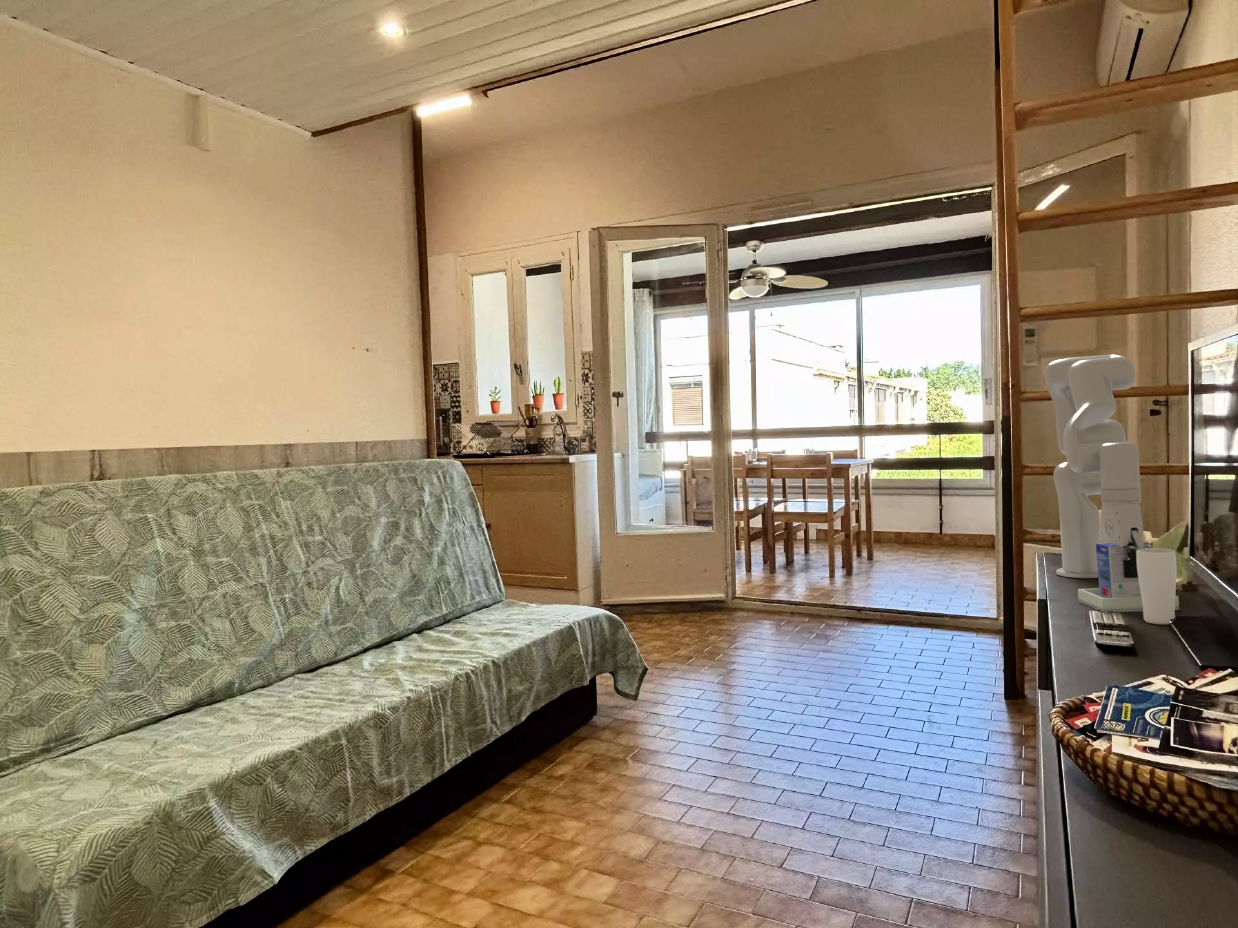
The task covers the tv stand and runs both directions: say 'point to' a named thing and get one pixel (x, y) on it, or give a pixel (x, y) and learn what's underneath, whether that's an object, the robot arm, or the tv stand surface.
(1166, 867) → the tv stand surface
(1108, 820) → the tv stand surface
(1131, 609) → the tray
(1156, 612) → the drinking glass
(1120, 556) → the ink cartridge box
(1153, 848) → the tv stand surface
